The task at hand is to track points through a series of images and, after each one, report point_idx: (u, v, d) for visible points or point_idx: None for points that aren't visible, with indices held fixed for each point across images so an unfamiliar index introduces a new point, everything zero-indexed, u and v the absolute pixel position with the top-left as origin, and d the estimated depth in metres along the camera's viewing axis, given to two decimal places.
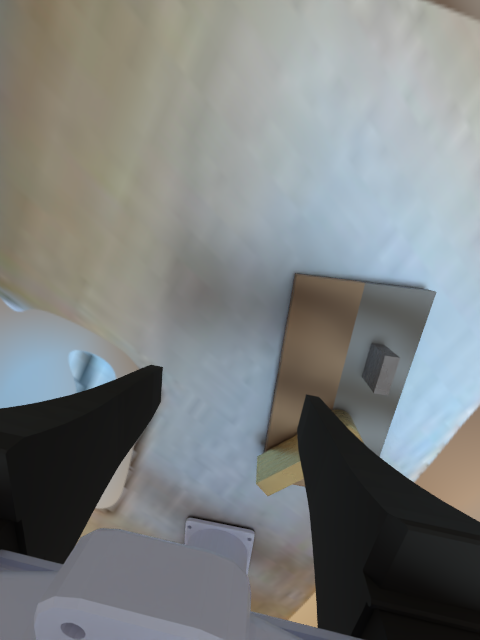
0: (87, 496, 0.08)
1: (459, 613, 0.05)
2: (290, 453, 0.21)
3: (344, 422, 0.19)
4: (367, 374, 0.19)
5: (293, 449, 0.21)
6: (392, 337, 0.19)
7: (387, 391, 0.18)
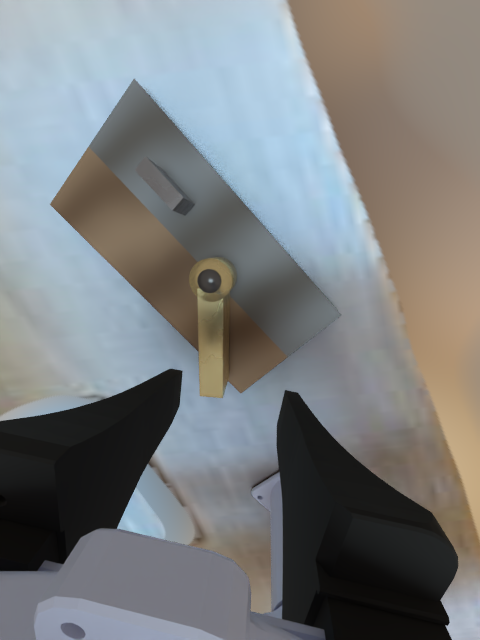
0: (117, 503, 0.08)
1: (407, 601, 0.05)
2: None
3: None
4: None
5: None
6: (159, 155, 0.16)
7: (177, 194, 0.14)
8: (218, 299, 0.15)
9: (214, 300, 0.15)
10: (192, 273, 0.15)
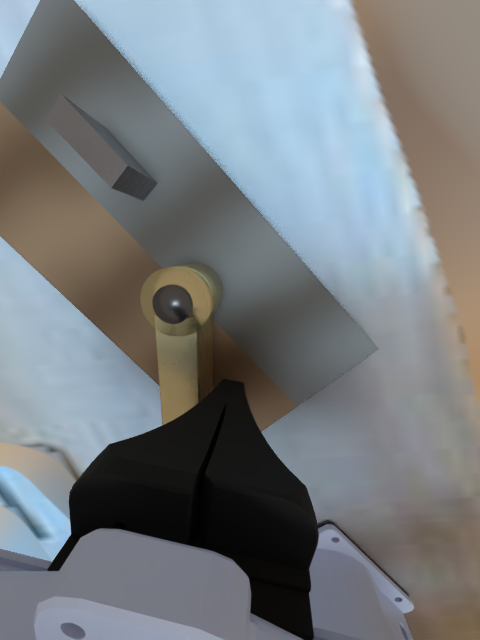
0: None
1: (274, 569, 0.05)
2: None
3: None
4: None
5: None
6: (99, 106, 0.10)
7: (118, 160, 0.09)
8: (189, 333, 0.09)
9: (182, 334, 0.09)
10: (145, 291, 0.09)
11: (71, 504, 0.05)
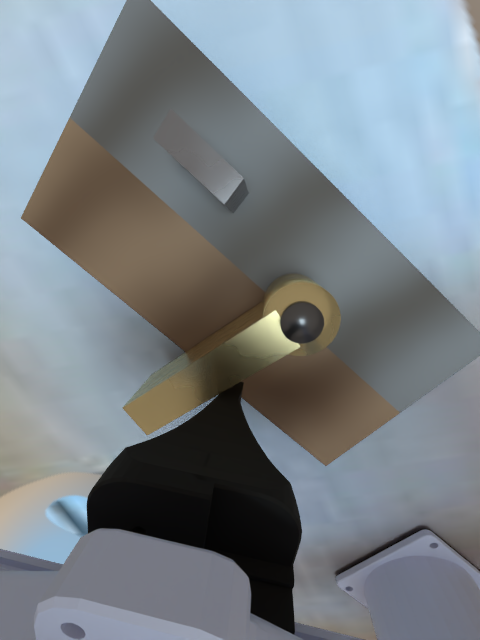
0: None
1: (258, 565, 0.05)
2: (196, 352, 0.10)
3: (302, 278, 0.09)
4: (218, 199, 0.10)
5: (203, 346, 0.11)
6: (185, 118, 0.10)
7: (233, 174, 0.08)
8: (281, 349, 0.09)
9: (275, 344, 0.09)
10: (294, 288, 0.08)
11: (90, 508, 0.05)
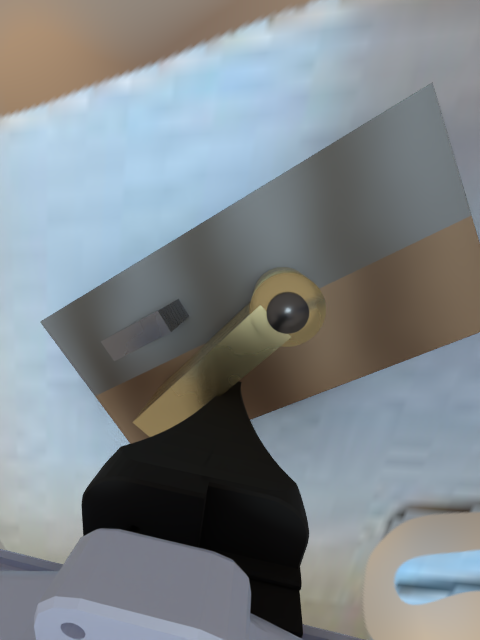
0: None
1: (265, 567, 0.05)
2: (195, 359, 0.11)
3: (283, 270, 0.09)
4: None
5: (201, 352, 0.11)
6: (116, 323, 0.13)
7: (152, 317, 0.10)
8: (273, 342, 0.09)
9: (266, 338, 0.09)
10: (274, 281, 0.08)
11: (85, 506, 0.05)
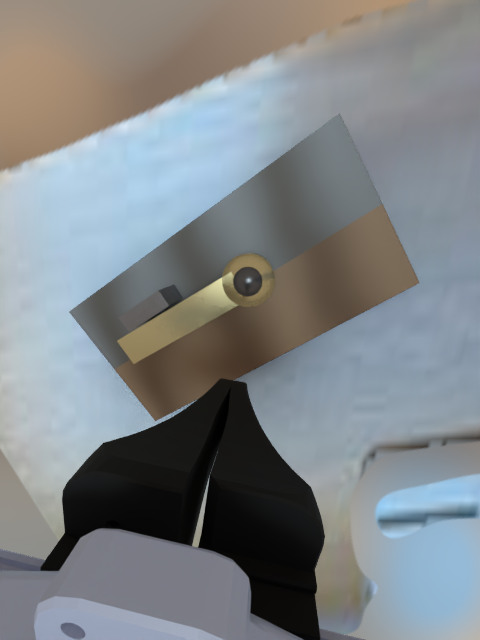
0: (195, 521, 0.08)
1: (280, 570, 0.05)
2: None
3: None
4: (170, 305, 0.15)
5: None
6: (127, 308, 0.16)
7: (155, 295, 0.13)
8: (234, 301, 0.12)
9: (230, 297, 0.12)
10: (244, 257, 0.12)
11: (65, 501, 0.05)
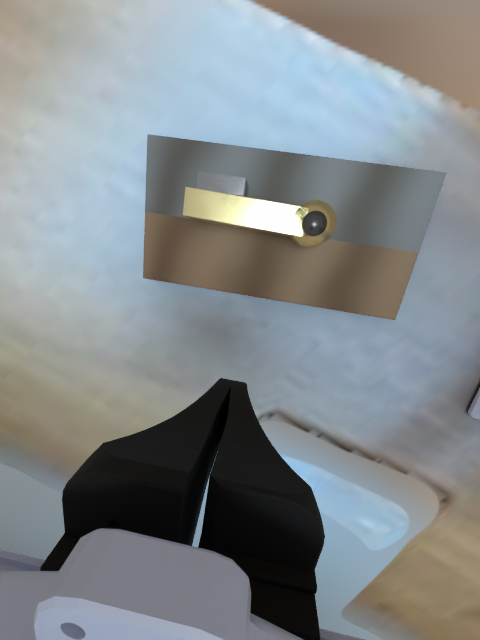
0: (195, 521, 0.08)
1: (279, 571, 0.05)
2: None
3: None
4: None
5: None
6: None
7: (240, 179, 0.15)
8: (293, 229, 0.15)
9: (292, 225, 0.15)
10: (325, 205, 0.14)
11: (65, 502, 0.05)
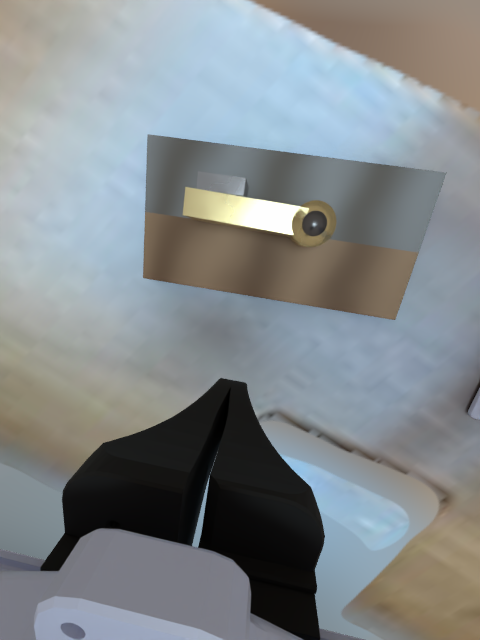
0: (195, 521, 0.08)
1: (279, 571, 0.05)
2: None
3: None
4: None
5: None
6: None
7: (240, 179, 0.15)
8: (293, 229, 0.15)
9: (292, 225, 0.15)
10: (325, 205, 0.14)
11: (65, 502, 0.05)
